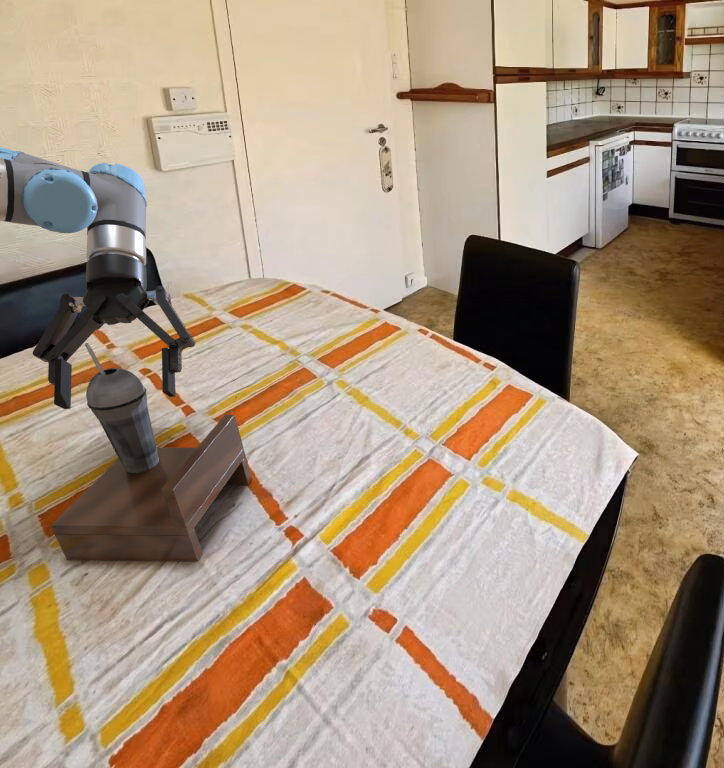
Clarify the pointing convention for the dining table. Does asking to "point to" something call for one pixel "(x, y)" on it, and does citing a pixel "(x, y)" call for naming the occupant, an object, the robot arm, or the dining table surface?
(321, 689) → the dining table surface
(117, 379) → the beverage cup
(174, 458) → the shelf
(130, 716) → the dining table surface
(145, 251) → the robot arm
